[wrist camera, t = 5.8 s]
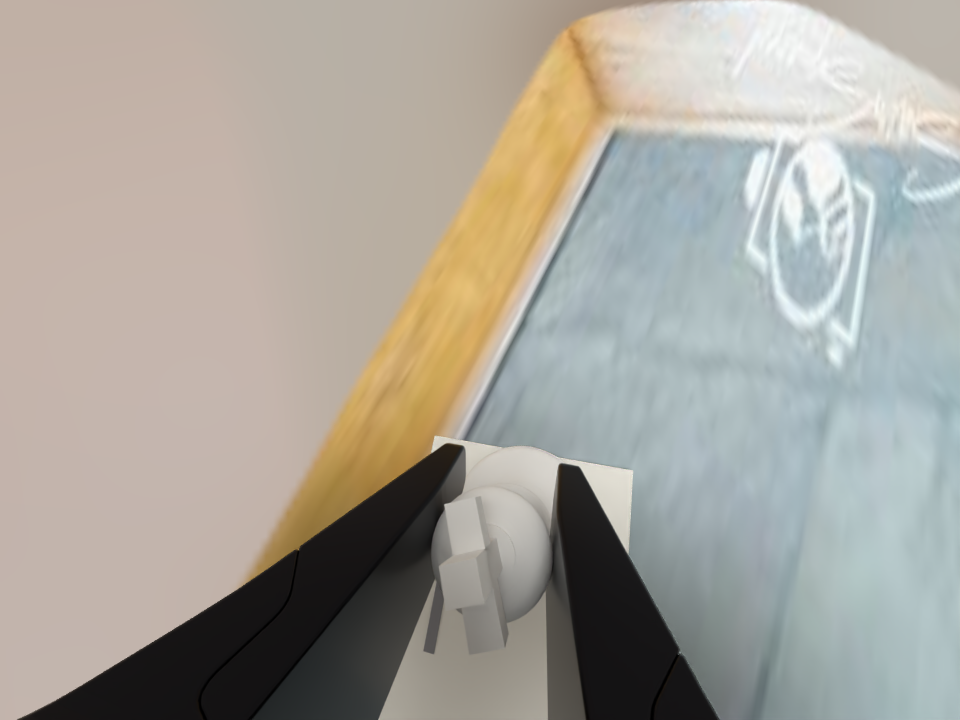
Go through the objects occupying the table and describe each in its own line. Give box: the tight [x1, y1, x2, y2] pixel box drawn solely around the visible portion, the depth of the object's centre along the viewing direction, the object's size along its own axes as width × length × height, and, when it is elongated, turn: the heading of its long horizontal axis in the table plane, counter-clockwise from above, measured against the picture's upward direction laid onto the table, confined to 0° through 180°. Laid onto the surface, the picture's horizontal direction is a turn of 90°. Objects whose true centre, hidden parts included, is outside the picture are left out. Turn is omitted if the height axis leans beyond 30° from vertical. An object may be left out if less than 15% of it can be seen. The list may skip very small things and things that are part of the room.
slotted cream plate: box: [378, 436, 633, 720], centre depth 13 cm, size 10×8×1 cm
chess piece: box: [431, 446, 564, 655], centre depth 9 cm, size 5×5×10 cm
